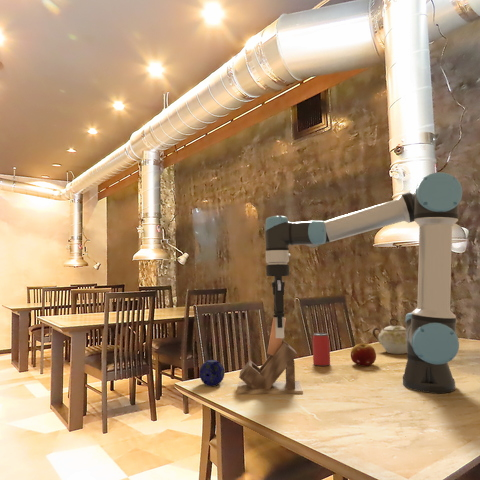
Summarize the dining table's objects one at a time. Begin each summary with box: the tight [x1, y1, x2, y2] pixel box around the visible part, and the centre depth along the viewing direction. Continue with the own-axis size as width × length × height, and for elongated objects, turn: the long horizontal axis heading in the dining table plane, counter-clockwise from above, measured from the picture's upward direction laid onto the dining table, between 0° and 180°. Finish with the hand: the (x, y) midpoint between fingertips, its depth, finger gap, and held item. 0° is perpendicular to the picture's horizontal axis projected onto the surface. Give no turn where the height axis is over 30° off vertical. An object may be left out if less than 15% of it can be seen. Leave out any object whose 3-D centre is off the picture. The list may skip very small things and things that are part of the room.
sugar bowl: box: [372, 317, 407, 355], centre depth 181 cm, size 20×15×15 cm
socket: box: [236, 339, 304, 395], centre depth 129 cm, size 20×11×16 cm, turn 88°
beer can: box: [312, 332, 331, 367], centre depth 160 cm, size 7×7×12 cm
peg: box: [266, 316, 287, 356], centre depth 129 cm, size 4×4×12 cm
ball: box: [199, 359, 225, 387], centre depth 135 cm, size 8×8×8 cm
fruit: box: [350, 343, 377, 367], centre depth 158 cm, size 10×9×8 cm
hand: (279, 336), depth 129 cm, fingers open, 5 cm apart
